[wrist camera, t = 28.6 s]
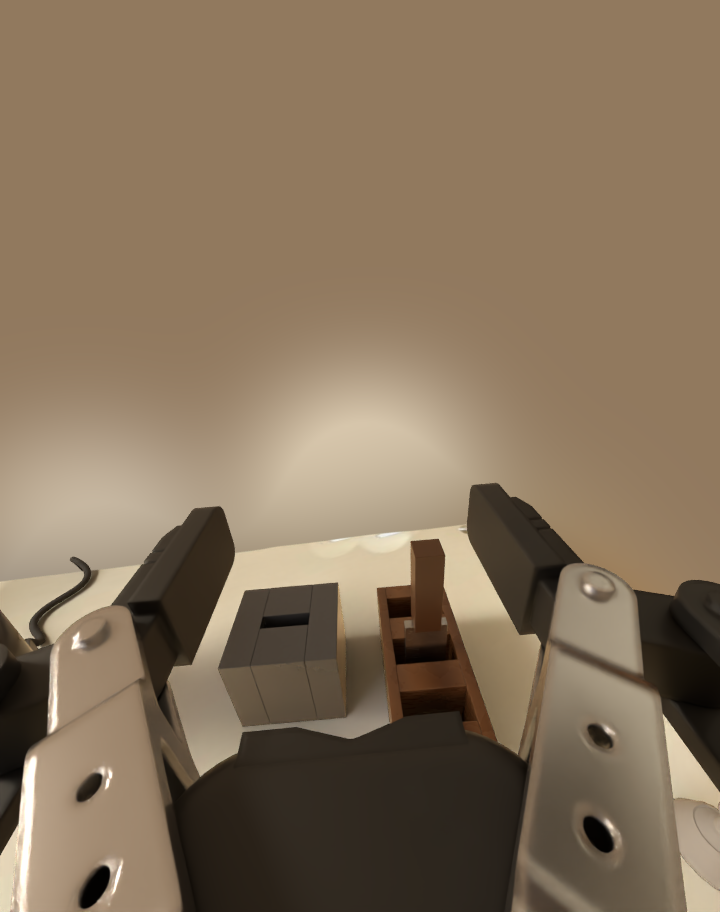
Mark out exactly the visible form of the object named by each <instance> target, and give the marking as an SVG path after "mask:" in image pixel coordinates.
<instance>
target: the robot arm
mask: <svg viewBox="0 0 720 912" xmlns="http://www.w3.org/2000/svg"><path fill="white" fill-rule="evenodd" d="M467 532H468V537H469V540H470V543H471V545H472V547H473V549H474V550H475V552H476V554H477V556H478V558H479V560H480V562H481V564H482V565H483V567H484V569H485V571H486V573H487V575H488V577H489V579H490V580H491V582H492V584H493V586H494V588H495V590H496V592H497V594H498V595H499V597H500V599H501V601H502V603H503V605H504V607H505V609H506V610H507V612H508V614H509V616H510V618H511V620H512V622H513V624H514V625H515V627H516V629H517V631H518V633H519V635H527V634H536V635H537V637H538V638H539V640H540V642H541V645H540V649H539V653H538V659H537V664H536V669H535V675H534V680H533V685H532V691H531V696H530V701H529V706H528V712H527V717H526V722H525V726H524V731H523V735H522V739H521V743H520V748H519V753H518V755H517V754H516V753H514V752H513V751H511V750H510V749H508V748H507V747H505V746H503V745H502V744H500V743H498V742H496V741H494V740H492V739H490V738H488V737H486V736H484V735H481V734H478V733H475V732H472V731H468V730H465V729H464V726H463V722H462V719H461V715H460V712H459V711H455V712H445V713H435V714H424V715H414V716H406V717H404V718H401V719H399V720H397V721H394V722H392V723H390V724H387V725H385V726H383V727H381V728H378V729H376V730H374V731H371V732H369V733H367V734H364V735H362V736H360V737H357V738H354V739H346V738H342V737H337V736H333V735H329V734H324V733H320V732H315V731H311V730H307V729H302V728H298V727H292V728H282V729H272V730H262V731H252V732H243V733H242V737H241V742H240V746H239V751H238V753H237V754H235V755H233V756H231V757H229V758H227V759H225V760H224V761H222V762H220V763H218V764H217V765H216V766H214V767H213V768H211V769H210V770H209V771H207V772H206V773H205V774H203V775H202V776H201V777H200V776H199V773H198V771H197V769H196V766H195V764H194V762H193V759H192V757H191V754H190V751H189V748H188V744H187V741H186V738H185V734H184V731H183V727H182V724H181V720H180V717H179V713H178V710H177V706H176V703H175V699H174V696H173V692H172V689H171V685H170V683H169V681H168V677H169V675H170V673H171V670H172V668H173V666H184V665H192V663H193V660H194V658H195V655H196V653H197V650H198V648H199V645H200V643H201V641H202V638H203V636H204V633H205V631H206V628H207V626H208V624H209V621H210V619H211V616H212V614H213V611H214V609H215V607H216V604H217V602H218V599H219V597H220V594H221V592H222V590H223V587H224V585H225V582H226V580H227V577H228V575H229V572H230V570H231V568H232V565H233V562H234V557H235V548H234V543H233V539H232V536H231V533H230V530H229V526H228V523H227V520H226V517H225V513H224V511H223V509H222V508H221V507H219V506H218V507H205V508H195V509H193V510H192V512H191V513H190V514H189V516H188V517H187V519H186V520H185V521H184V523H183V524H182V525H181V526H176V527H175V528H174V529H173V530H171V531H170V532H169V533H167V534H166V535H165V536H164V537H163V538H161V540H160V541H159V542H158V544H157V545H156V546H155V548H154V549H153V552H152V553H150V554H149V556H148V557H147V558H146V560H145V561H144V564H142V565H141V566H140V568H139V569H138V570H137V572H136V573H135V574H134V576H133V577H132V578H131V580H130V581H129V582H128V583H127V585H126V586H125V587H124V589H123V590H122V591H121V593H120V594H119V595H118V597H117V598H116V599H115V601H114V602H113V603H112V605H111V606H108V607H104V608H101V609H98V610H96V611H93V612H91V613H89V614H87V615H85V616H84V617H82V618H81V619H79V620H78V621H76V622H75V623H74V624H72V625H71V626H70V627H69V628H68V629H66V630H65V631H64V632H63V634H62V635H61V636H60V637H59V638H58V639H57V641H56V643H55V644H52V645H49V646H46V647H43V648H40V649H38V648H37V646H40V645H41V644H42V643H43V642H44V641H45V635H44V633H43V632H42V631H41V630H40V628H39V627H38V621H39V619H40V618H41V617H42V615H43V614H44V613H46V612H47V611H48V610H49V609H51V608H52V607H54V606H55V605H57V604H58V603H60V602H62V601H63V600H65V599H67V598H68V597H70V596H71V595H73V594H75V593H76V592H77V591H79V590H80V589H81V588H83V587H84V586H85V585H86V584H87V583H88V581H89V580H90V577H91V570H90V568H89V566H88V565H87V564H86V563H85V562H83V561H82V560H80V559H78V558H76V557H72V558H70V561H71V562H73V563H74V564H75V565H76V566H77V567H78V568H79V569H80V570H81V571H84V578H83V579H82V581H81V582H80V583H79V584H78V585H77V586H75V587H74V588H72V589H71V590H69V591H68V592H66V593H64V594H63V595H61V596H59V597H58V598H56V599H54V600H53V601H51V602H50V603H48V604H46V605H45V606H44V607H42V608H41V609H40V610H39V611H38V612H37V613H36V614H35V615H34V616H33V617H32V619H31V620H30V623H29V629H30V632H31V634H32V635H33V636H34V638H35V639H32V638H28V639H25V640H24V639H23V638H22V636H21V635H20V634H19V633H18V631H17V630H16V629H15V628H14V626H13V625H12V624H11V623H10V622H9V620H8V619H7V618H6V617H5V615H4V614H3V613H2V612H1V610H0V855H1V853H2V851H3V850H4V848H5V846H6V844H7V843H8V841H9V839H10V837H11V836H12V834H13V832H14V830H15V829H16V827H17V825H18V834H17V845H16V856H15V866H14V877H13V887H12V898H11V909H10V912H687V907H686V899H685V891H684V882H683V874H682V866H681V858H680V850H679V842H678V834H677V826H676V818H675V810H674V802H673V793H672V785H671V777H670V769H669V761H668V753H667V745H666V737H665V729H664V721H663V714H664V716H665V717H666V718H667V720H668V721H669V722H670V724H671V725H672V727H673V728H674V729H675V731H676V732H677V734H678V735H679V736H680V738H681V739H682V740H683V742H684V743H685V745H686V746H687V747H688V749H689V750H690V752H691V753H692V754H693V756H694V757H695V758H696V760H697V761H698V763H699V764H700V765H701V767H702V768H703V770H704V771H705V772H706V774H707V775H708V776H709V778H710V779H711V781H712V782H713V783H714V785H715V786H716V787H717V789H718V790H719V792H720V584H717V583H713V582H709V581H702V580H690V581H686V582H683V583H682V584H681V585H680V586H679V588H678V590H677V592H676V594H675V596H670V595H664V594H657V593H651V592H645V591H638V590H633V589H632V588H631V587H630V586H629V585H628V584H627V583H626V582H625V581H624V580H623V579H622V578H620V577H619V576H617V575H616V574H614V573H612V572H610V571H608V570H606V569H604V568H601V567H598V566H594V565H590V564H585V563H584V562H583V561H582V560H581V559H580V558H579V557H578V556H577V555H576V554H575V553H574V552H573V551H572V549H571V548H570V547H569V546H568V545H567V544H566V543H565V542H564V541H563V540H562V539H561V537H560V536H559V535H558V534H557V533H556V532H555V531H554V530H553V529H551V528H550V526H549V524H548V523H547V522H546V521H545V520H544V519H542V517H541V516H540V515H539V514H538V513H537V512H536V510H535V509H534V508H533V507H532V506H530V505H529V504H527V503H525V502H524V501H522V500H520V499H519V498H517V497H509V495H507V493H506V492H505V491H504V490H503V489H502V487H501V486H500V485H499V484H497V483H490V484H479V485H473V486H472V487H471V490H470V498H469V508H468V519H467Z"/></svg>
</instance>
